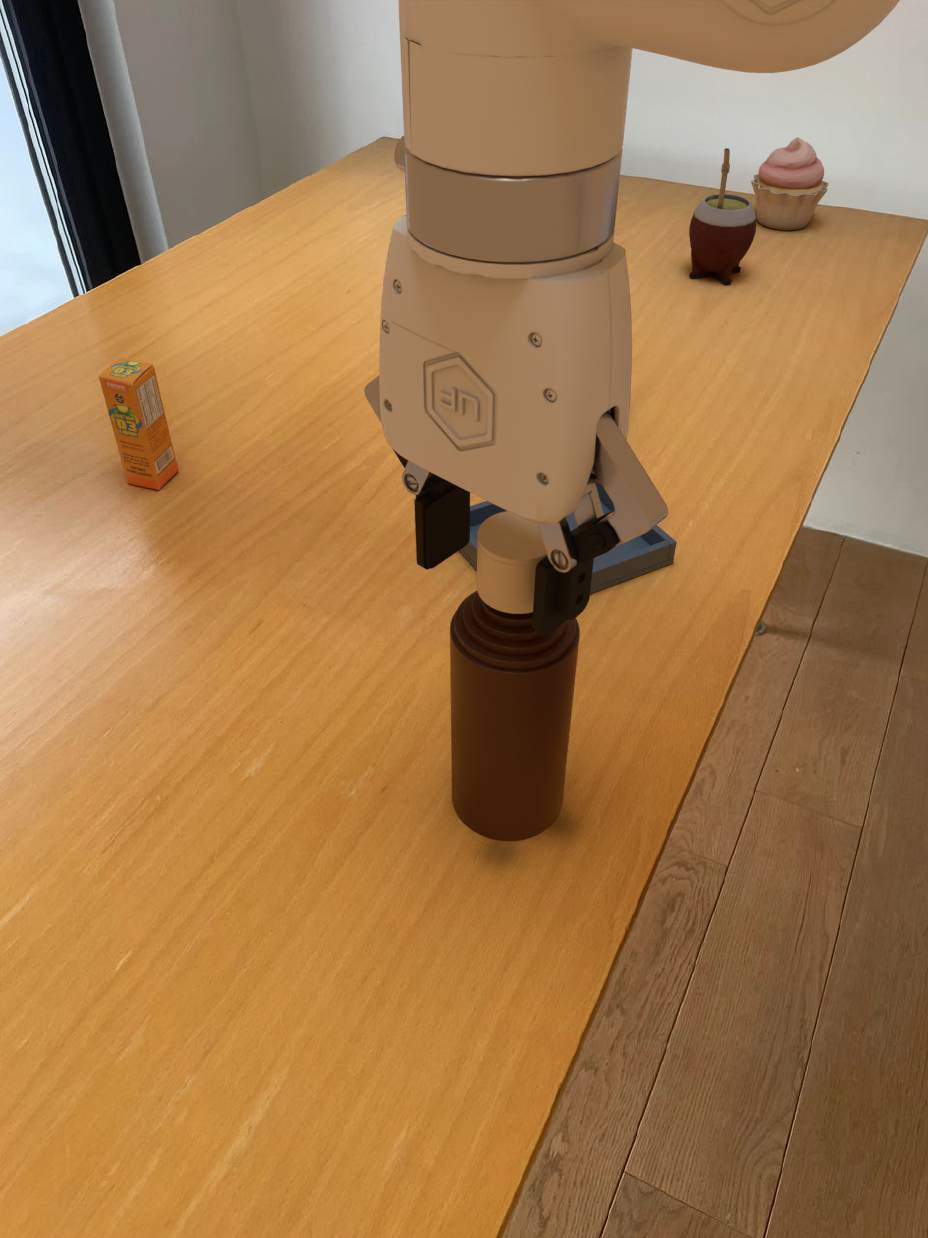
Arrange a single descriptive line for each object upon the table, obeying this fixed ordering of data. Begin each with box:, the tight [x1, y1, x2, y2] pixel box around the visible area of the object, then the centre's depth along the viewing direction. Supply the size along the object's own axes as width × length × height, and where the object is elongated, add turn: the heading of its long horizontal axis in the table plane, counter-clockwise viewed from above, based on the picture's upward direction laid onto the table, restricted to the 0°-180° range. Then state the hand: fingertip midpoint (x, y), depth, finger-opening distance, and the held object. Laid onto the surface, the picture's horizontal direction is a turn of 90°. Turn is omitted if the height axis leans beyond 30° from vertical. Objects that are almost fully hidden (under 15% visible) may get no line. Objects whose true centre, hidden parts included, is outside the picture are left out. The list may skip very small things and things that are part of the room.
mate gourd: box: [688, 147, 757, 286], centre depth 109 cm, size 8×8×15 cm
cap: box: [476, 511, 547, 614], centre depth 47 cm, size 4×4×3 cm
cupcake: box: [750, 136, 830, 231], centre depth 123 cm, size 9×9×10 cm
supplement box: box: [98, 357, 179, 491], centre depth 80 cm, size 3×3×10 cm
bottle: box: [449, 590, 581, 842], centre depth 52 cm, size 6×6×18 cm
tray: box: [458, 483, 678, 595], centre depth 75 cm, size 13×11×2 cm
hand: (499, 583), depth 48 cm, fingers open, 6 cm apart
